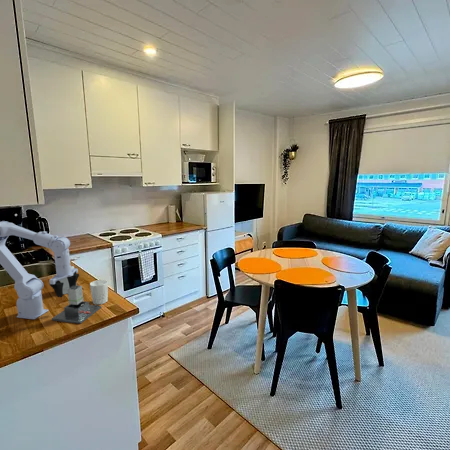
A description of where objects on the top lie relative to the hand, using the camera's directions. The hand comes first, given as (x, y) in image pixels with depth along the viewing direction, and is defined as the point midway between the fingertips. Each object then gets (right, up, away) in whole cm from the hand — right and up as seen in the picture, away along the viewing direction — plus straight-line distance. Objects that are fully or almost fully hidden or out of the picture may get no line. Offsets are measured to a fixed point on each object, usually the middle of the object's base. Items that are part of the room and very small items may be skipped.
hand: (66, 293), depth 123 cm
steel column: (+5, -4, -1) cm, 6 cm away
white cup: (+10, -8, +12) cm, 18 cm away
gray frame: (+5, -10, 0) cm, 11 cm away
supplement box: (-13, -5, +25) cm, 28 cm away
